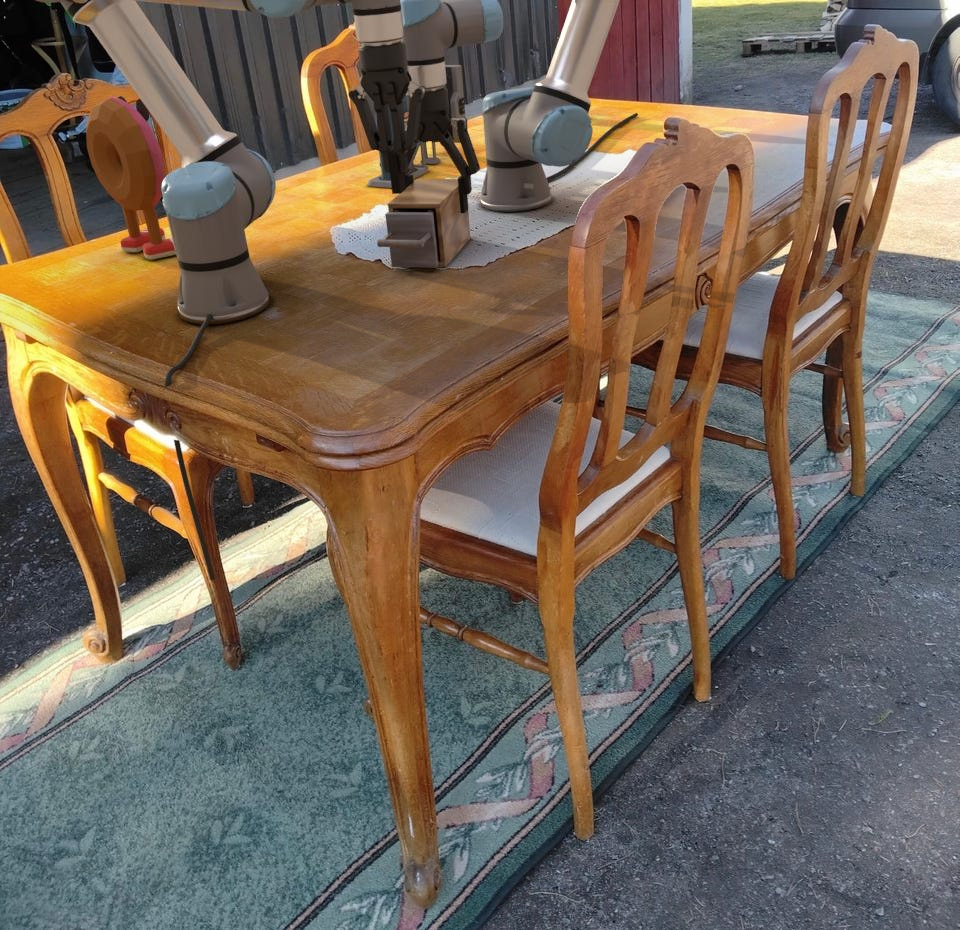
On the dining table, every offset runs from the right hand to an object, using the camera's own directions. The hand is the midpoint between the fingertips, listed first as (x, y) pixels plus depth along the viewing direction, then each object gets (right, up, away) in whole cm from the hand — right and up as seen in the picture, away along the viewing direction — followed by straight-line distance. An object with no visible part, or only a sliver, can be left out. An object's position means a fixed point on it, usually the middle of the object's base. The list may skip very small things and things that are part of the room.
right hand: (438, 210), depth 185 cm
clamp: (-7, +25, +56) cm, 62 cm away
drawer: (-3, -11, -6) cm, 13 cm away
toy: (-58, -5, +13) cm, 60 cm away
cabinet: (-1, -8, 0) cm, 8 cm away
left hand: (-6, -2, -20) cm, 21 cm away
